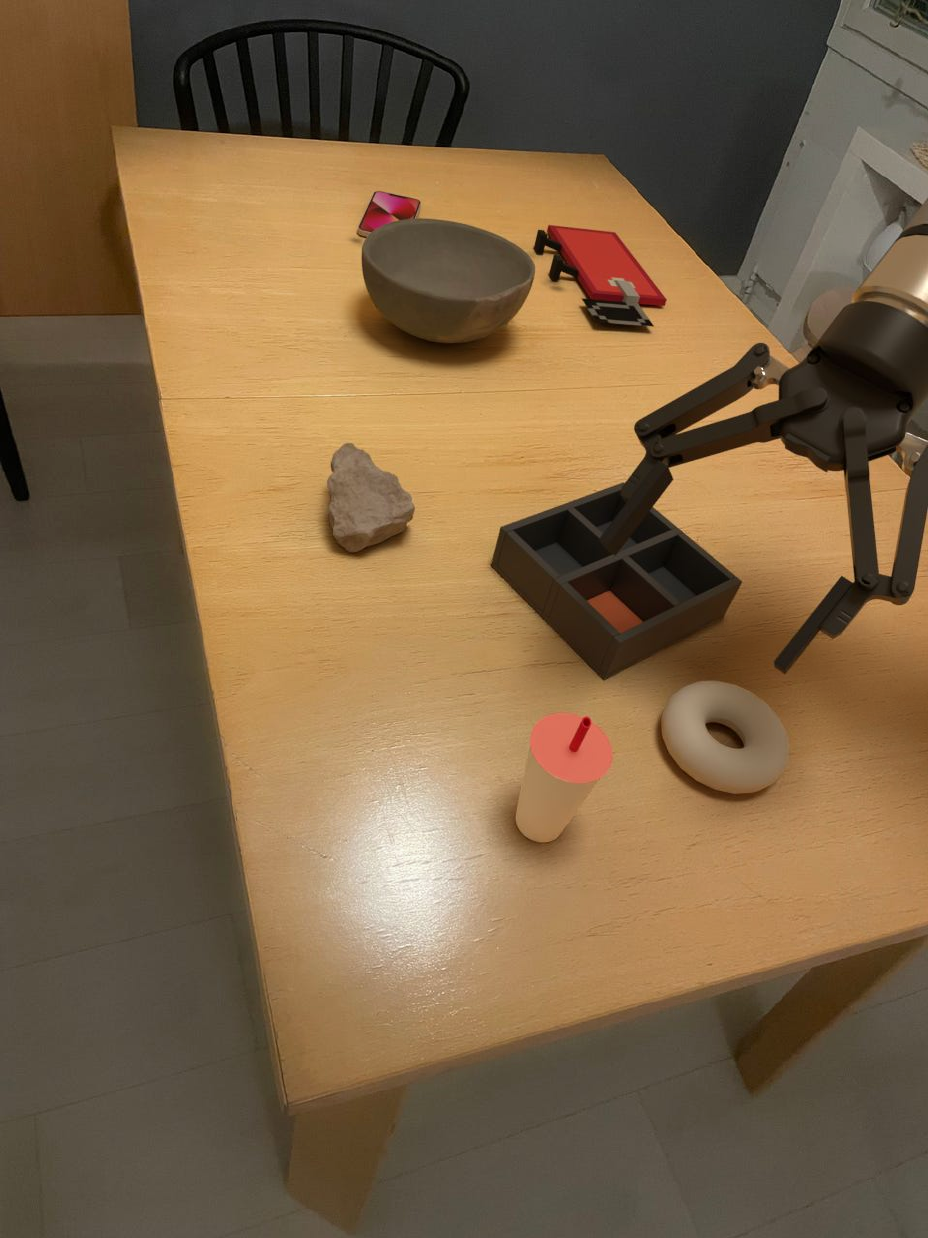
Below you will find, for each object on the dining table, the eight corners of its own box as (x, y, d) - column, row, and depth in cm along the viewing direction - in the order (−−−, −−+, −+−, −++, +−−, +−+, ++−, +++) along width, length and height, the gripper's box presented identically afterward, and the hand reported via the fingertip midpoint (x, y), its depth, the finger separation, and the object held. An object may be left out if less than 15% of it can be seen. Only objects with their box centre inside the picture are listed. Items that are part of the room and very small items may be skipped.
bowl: (439, 278, 118) (450, 202, 111) (550, 347, 110) (570, 270, 103) (321, 311, 107) (325, 228, 99) (436, 391, 98) (449, 308, 91)
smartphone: (356, 229, 122) (374, 189, 133) (355, 236, 123) (373, 196, 134) (408, 240, 123) (422, 199, 133) (407, 247, 123) (421, 206, 134)
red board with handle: (580, 327, 114) (683, 335, 118) (586, 307, 112) (690, 315, 117) (523, 231, 134) (612, 241, 139) (527, 212, 132) (617, 223, 137)
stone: (293, 498, 81) (295, 446, 77) (369, 480, 85) (375, 429, 81) (342, 566, 76) (347, 514, 72) (421, 543, 80) (430, 492, 76)
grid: (723, 618, 80) (743, 581, 76) (603, 680, 72) (620, 643, 69) (609, 518, 87) (623, 481, 84) (490, 565, 79) (500, 526, 76)
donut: (685, 679, 74) (633, 752, 67) (700, 652, 71) (648, 724, 65) (794, 745, 71) (752, 827, 64) (814, 718, 68) (772, 800, 62)
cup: (571, 864, 59) (624, 763, 51) (495, 843, 60) (535, 739, 51) (580, 799, 63) (630, 695, 55) (508, 780, 63) (547, 673, 55)
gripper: (1079, 455, 53) (858, 729, 55) (736, 281, 63) (557, 518, 65) (1119, 406, 46) (865, 721, 48) (727, 219, 56) (528, 487, 58)
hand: (688, 606), depth 57 cm, fingers open, 13 cm apart
